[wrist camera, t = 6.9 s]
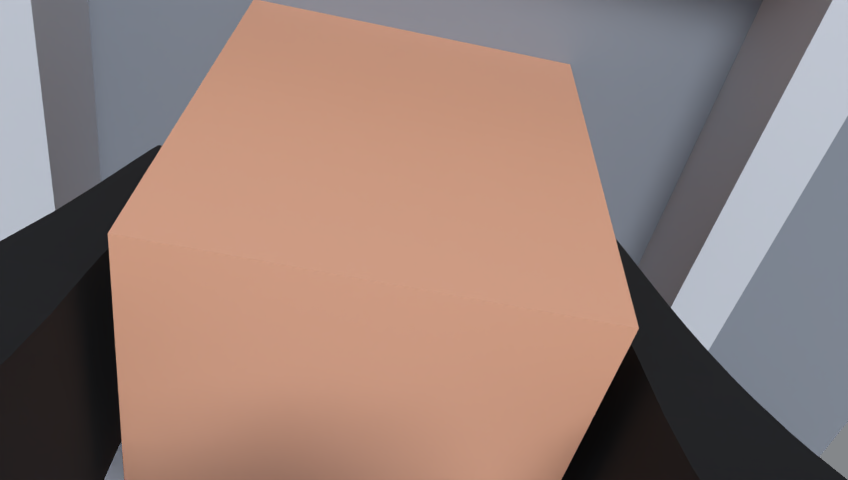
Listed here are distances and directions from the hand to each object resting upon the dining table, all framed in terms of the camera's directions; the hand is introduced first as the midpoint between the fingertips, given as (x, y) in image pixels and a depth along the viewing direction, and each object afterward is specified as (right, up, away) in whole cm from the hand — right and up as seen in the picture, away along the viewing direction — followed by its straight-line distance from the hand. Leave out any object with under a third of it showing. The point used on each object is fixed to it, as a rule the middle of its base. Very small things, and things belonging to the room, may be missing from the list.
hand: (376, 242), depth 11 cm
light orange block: (0, +1, +2) cm, 2 cm away
